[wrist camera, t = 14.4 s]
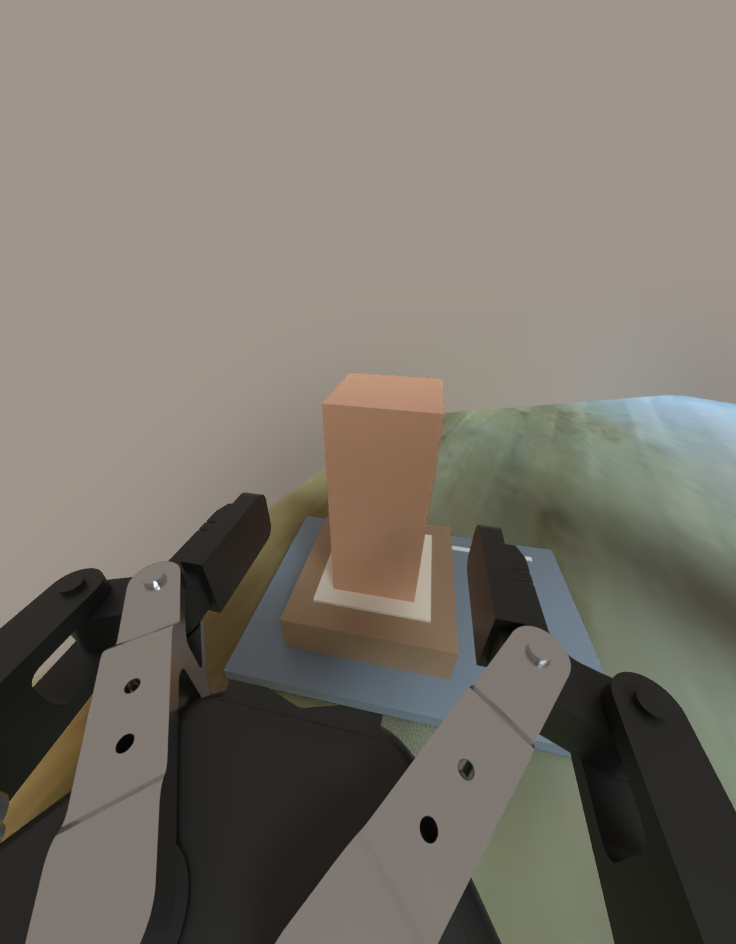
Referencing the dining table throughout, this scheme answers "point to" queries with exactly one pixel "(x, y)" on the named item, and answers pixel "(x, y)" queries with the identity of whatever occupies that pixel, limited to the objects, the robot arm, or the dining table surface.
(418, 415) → the terracotta pillar
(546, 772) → the dining table surface
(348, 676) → the blueprint board
